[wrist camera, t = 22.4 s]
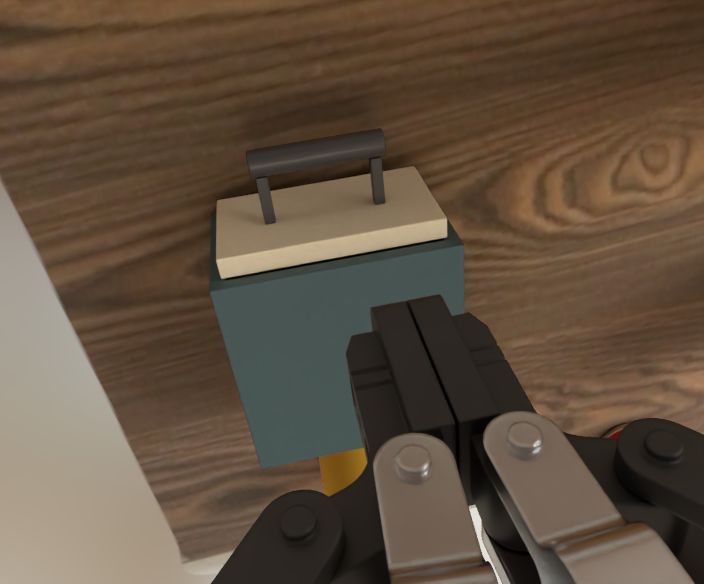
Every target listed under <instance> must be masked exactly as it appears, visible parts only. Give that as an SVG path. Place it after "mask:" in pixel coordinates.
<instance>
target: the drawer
mask: <svg viewBox="0 0 704 584" xmlns="http://www.w3.org/2000/svg"><path fill="white" fill-rule="evenodd" d="M385 154H386V143H385V137H384V133H383V131H382V129H381V128H378V129H372V130H366V131H360V132H354V133H348V134H342V135H336V136H331V137H325V138H319V139H313V140H307V141H301V142H295V143H289V144H283V145H278V146H272V147H266V148H260V149H254V150H248V151H246V158H247V163H248V168H249V173H250V176H251V178H255V180H256V184H257V189H258V193H257V194H251V195H245V196H240V197H234V198H228V199H222V200H218V201H217V217H216V263H217V266H218V270H219V274H220V277H221V279H225V278H230V277H236V276H239V277H240V278H244V277H249V276H254V275H260V274H265V273H271V272H276V271H281V270H287V269H292V268H298V267H303V266H309V265H314V264H319V263H325V262H330V261H336V260H341V259H346V258H352V257H357V256H363V255H368V254H373V253H379V252H384V251H390V250H395V249H401V248H406V247H411V246H417V245H422V244H426V243H425V241H431V240H436V239H442V238H446V237H447V218H446V216H445V215H444V213H443V211H442V210H441V208H440V207H439V205H438V203H437V202H436V200H435V199H434V197H433V195H432V194H431V192H430V191H429V189H428V187H427V186H426V184H425V182H424V181H423V179H422V178H421V176H420V174H419V173H418V171H417V170H416V168H415V166H411V167H405V168H400V169H394V170H388V171H383V169H382V158H381V156H384V155H385ZM368 158H369V165H370V174H365V175H360V176H354V177H348V178H342V179H337V180H331V181H325V182H320V183H314V184H308V185H302V186H297V187H291V188H285V189H280V190H274V191H270V188H269V183H268V178H267V176H270V175H275V174H281V173H287V172H293V171H298V170H304V169H310V168H316V167H322V166H327V165H333V164H339V163H345V162H350V161H356V160H362V159H368Z"/></svg>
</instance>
